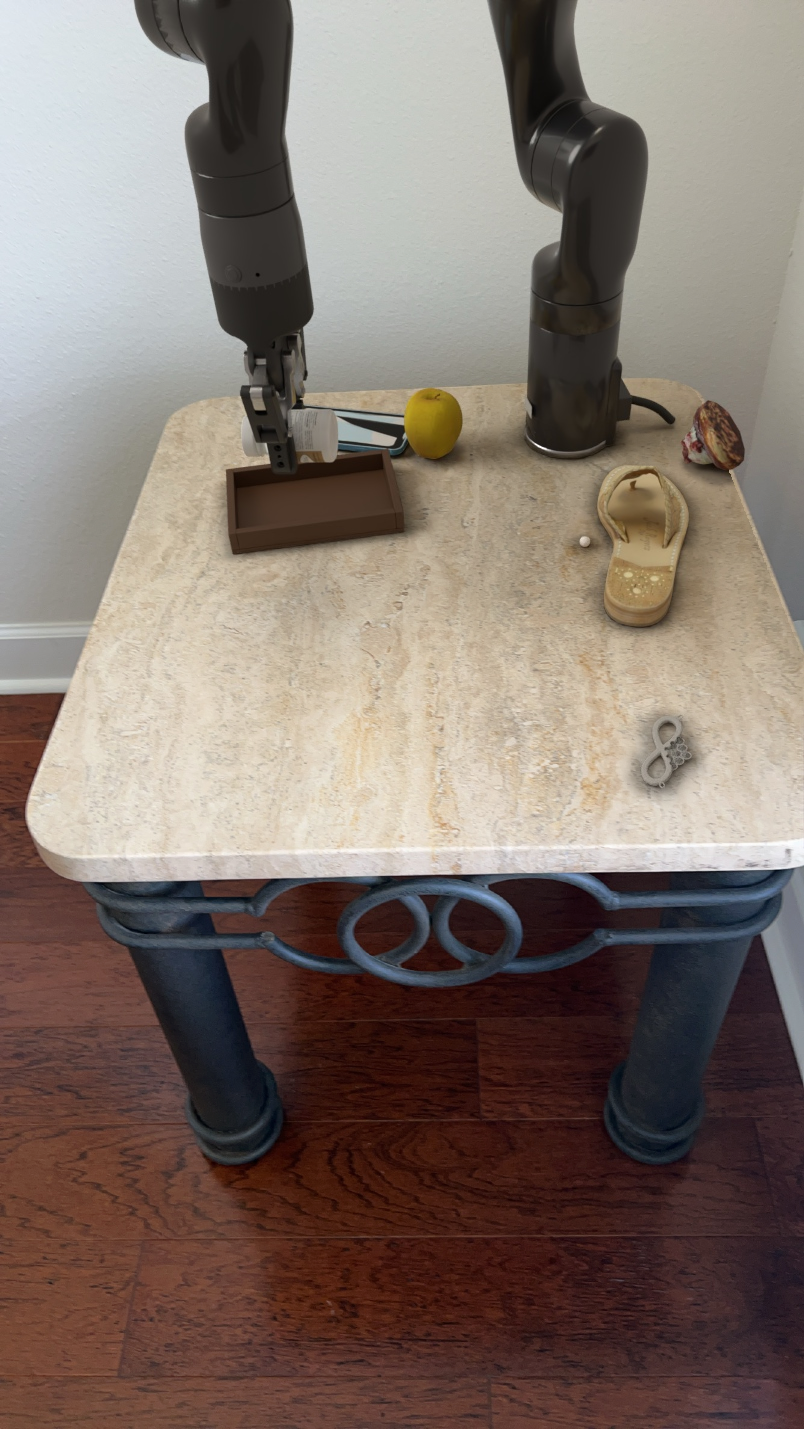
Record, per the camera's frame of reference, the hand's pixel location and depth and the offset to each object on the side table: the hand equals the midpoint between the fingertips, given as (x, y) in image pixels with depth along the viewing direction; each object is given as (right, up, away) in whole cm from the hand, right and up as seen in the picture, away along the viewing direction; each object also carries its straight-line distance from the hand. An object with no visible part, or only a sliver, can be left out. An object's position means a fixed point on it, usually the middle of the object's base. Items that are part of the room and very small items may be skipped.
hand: (290, 453), depth 90 cm
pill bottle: (+4, +1, -2) cm, 5 cm away
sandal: (+33, -6, +12) cm, 36 cm away
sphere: (+28, -8, +9) cm, 31 cm away
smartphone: (+4, +9, +29) cm, 30 cm away
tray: (0, -1, +19) cm, 19 cm away
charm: (+29, -25, -6) cm, 39 cm away
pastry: (+44, +7, +17) cm, 48 cm away
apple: (+13, +6, +25) cm, 29 cm away
